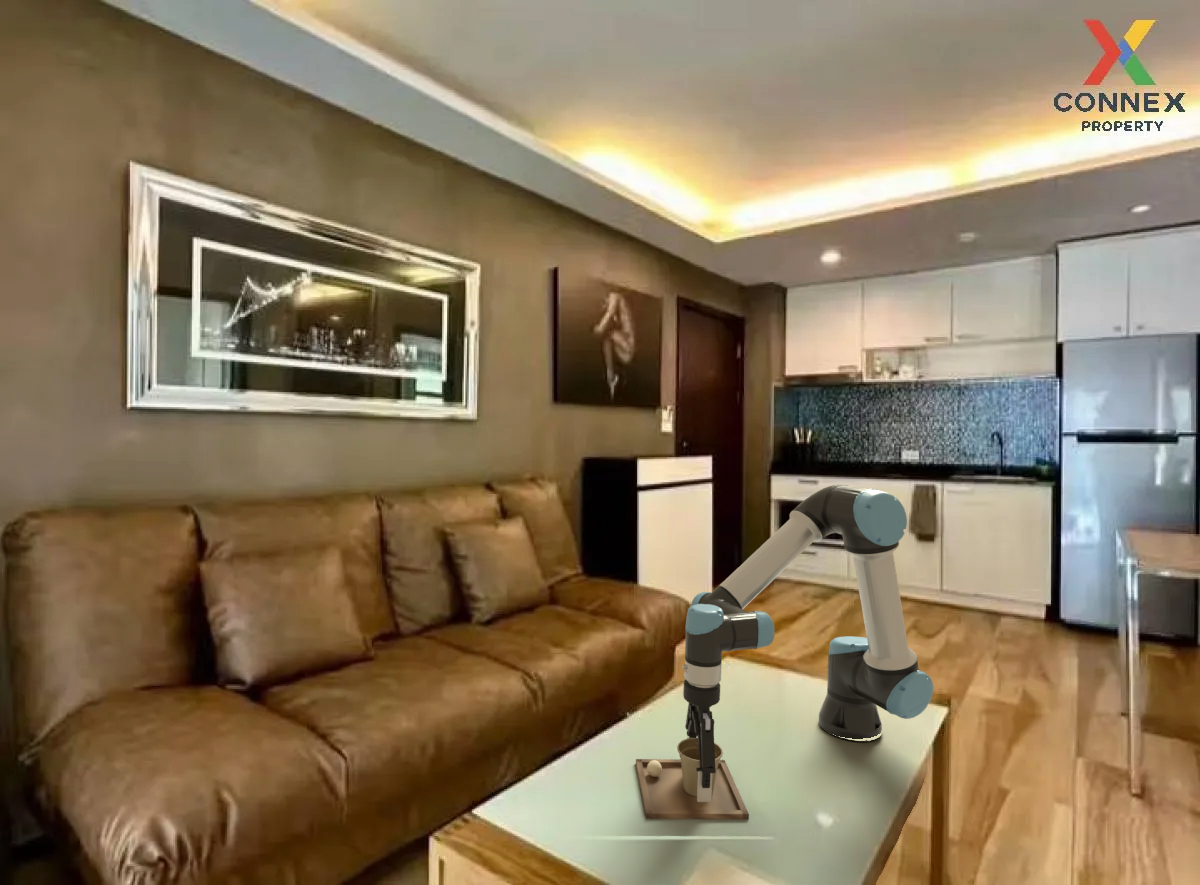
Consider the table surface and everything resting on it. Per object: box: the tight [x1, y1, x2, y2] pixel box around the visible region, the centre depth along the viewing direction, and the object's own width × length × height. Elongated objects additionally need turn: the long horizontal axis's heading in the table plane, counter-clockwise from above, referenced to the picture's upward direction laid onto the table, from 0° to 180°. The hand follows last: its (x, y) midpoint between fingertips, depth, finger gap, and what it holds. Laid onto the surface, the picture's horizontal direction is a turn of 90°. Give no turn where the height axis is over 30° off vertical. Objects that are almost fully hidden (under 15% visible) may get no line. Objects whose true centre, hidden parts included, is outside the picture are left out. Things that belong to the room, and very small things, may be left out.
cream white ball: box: [647, 760, 662, 777], centre depth 140 cm, size 3×3×3 cm
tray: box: [635, 758, 750, 820], centre depth 136 cm, size 20×20×2 cm
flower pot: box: [676, 737, 724, 797], centre depth 136 cm, size 9×9×9 cm
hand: (697, 783), depth 136 cm, fingers open, 11 cm apart
